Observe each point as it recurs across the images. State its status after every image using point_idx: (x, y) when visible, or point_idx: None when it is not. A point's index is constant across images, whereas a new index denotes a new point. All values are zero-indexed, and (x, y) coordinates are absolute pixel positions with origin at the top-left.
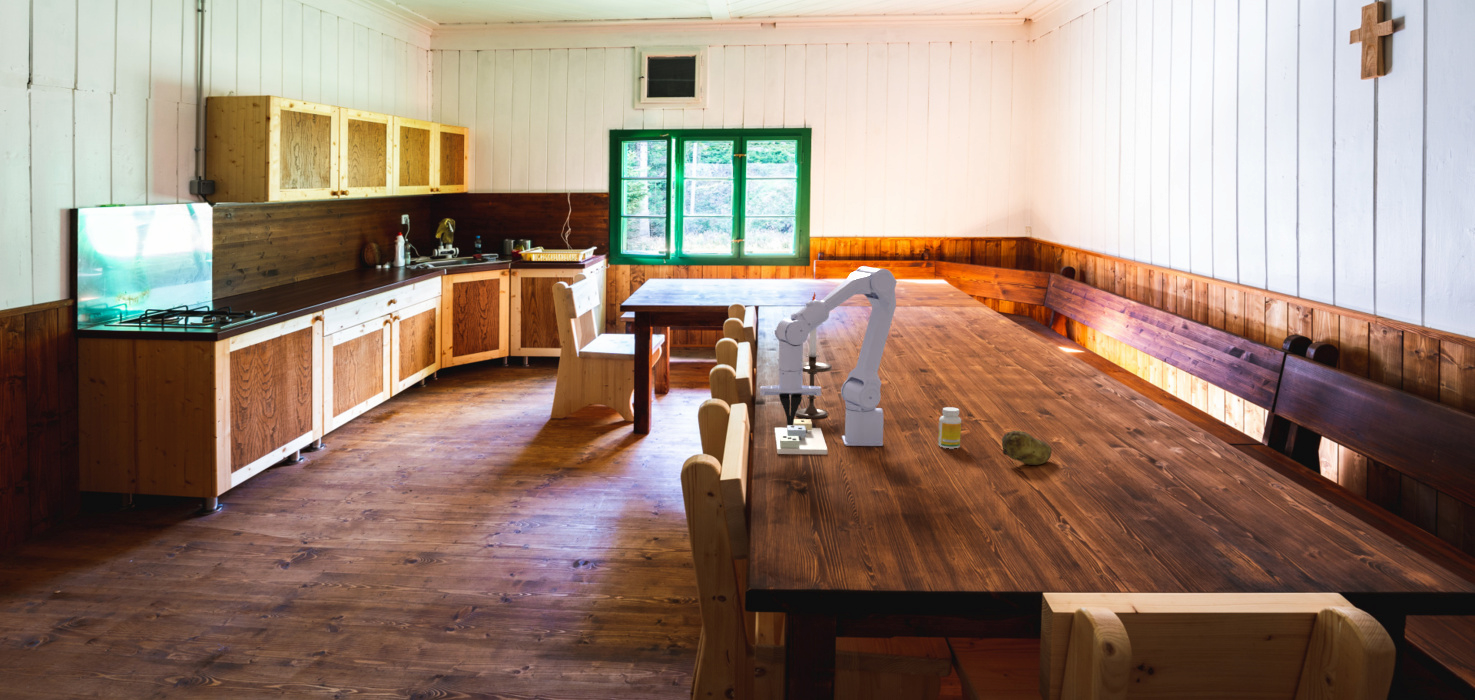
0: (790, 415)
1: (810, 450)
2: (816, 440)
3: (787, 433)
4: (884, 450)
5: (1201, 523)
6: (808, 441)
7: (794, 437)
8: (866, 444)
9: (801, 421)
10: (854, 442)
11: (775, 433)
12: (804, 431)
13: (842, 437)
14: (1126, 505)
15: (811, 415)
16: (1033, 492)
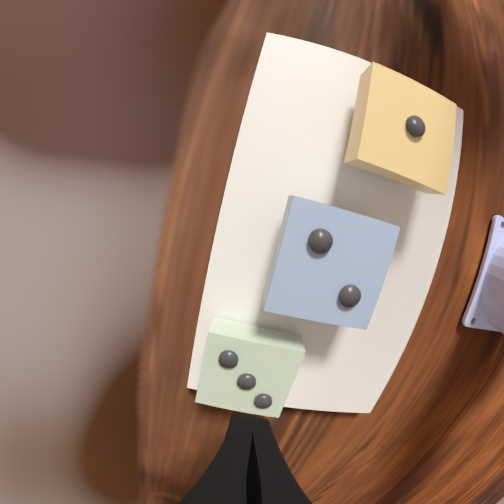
0: (249, 466)
1: (314, 407)
2: (395, 301)
3: (268, 279)
4: (501, 361)
5: (486, 500)
6: None
7: (276, 373)
8: (499, 331)
9: (407, 130)
10: (486, 320)
11: (241, 125)
12: (357, 325)
13: (491, 239)
14: (490, 490)
15: None
16: (472, 490)
